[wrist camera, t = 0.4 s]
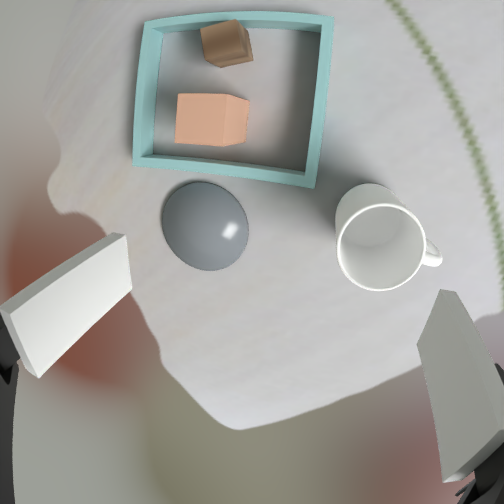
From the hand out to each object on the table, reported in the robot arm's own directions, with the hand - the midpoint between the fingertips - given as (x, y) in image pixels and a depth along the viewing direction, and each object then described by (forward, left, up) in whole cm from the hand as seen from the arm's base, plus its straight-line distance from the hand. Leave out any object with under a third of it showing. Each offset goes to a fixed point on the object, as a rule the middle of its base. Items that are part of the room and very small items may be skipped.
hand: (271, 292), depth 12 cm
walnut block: (-15, -11, -25) cm, 31 cm away
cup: (+3, +9, -25) cm, 27 cm away
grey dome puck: (+8, -13, -25) cm, 29 cm away
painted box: (-6, -11, -25) cm, 28 cm away
